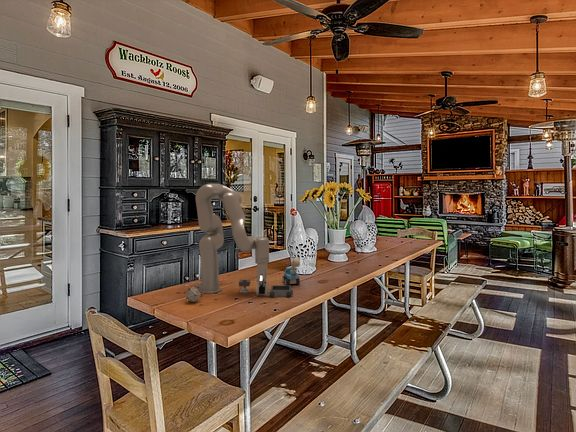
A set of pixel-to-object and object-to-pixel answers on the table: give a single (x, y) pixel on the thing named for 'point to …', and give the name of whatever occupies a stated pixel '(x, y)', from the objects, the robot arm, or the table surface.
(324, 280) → the table surface
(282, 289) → the chassis
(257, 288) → the engine block
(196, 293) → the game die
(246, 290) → the axle mount
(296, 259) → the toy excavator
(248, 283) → the wheel
